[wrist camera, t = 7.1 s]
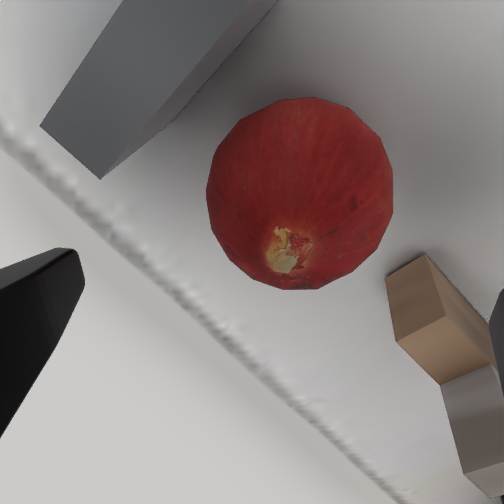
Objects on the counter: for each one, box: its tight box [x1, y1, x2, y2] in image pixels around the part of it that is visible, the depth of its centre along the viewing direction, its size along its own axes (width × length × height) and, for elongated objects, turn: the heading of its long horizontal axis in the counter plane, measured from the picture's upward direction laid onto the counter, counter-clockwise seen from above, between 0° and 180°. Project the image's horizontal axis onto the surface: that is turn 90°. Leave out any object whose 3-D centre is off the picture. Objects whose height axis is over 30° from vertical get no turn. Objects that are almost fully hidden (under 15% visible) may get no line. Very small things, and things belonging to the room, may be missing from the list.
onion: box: [206, 97, 393, 290], centre depth 13 cm, size 6×6×8 cm
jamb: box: [40, 0, 278, 179], centre depth 12 cm, size 2×6×6 cm, turn 135°
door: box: [385, 254, 504, 499], centre depth 16 cm, size 7×2×8 cm, turn 45°
